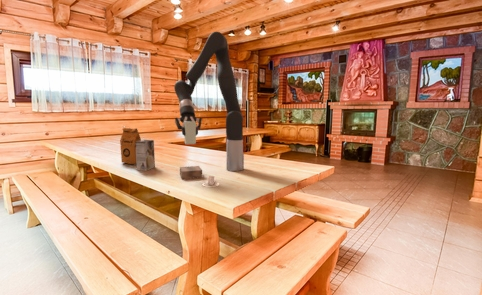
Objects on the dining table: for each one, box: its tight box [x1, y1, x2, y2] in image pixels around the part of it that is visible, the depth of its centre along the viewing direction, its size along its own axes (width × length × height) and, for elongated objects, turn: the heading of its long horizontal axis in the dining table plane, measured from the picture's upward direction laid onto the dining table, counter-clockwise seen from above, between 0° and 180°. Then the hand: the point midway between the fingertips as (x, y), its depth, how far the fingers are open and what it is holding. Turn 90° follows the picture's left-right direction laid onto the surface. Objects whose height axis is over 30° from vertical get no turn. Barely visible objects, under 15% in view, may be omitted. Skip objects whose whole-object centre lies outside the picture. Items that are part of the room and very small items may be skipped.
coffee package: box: [119, 127, 142, 166], centre depth 163 cm, size 10×12×22 cm
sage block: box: [183, 121, 197, 145], centre depth 133 cm, size 5×5×11 cm
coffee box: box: [135, 139, 156, 172], centre depth 150 cm, size 9×6×16 cm
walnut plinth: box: [179, 165, 203, 180], centre depth 136 cm, size 10×10×4 cm
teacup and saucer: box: [201, 175, 220, 188], centre depth 123 cm, size 9×8×4 cm
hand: (190, 134), depth 131 cm, fingers closed on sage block, 5 cm apart
